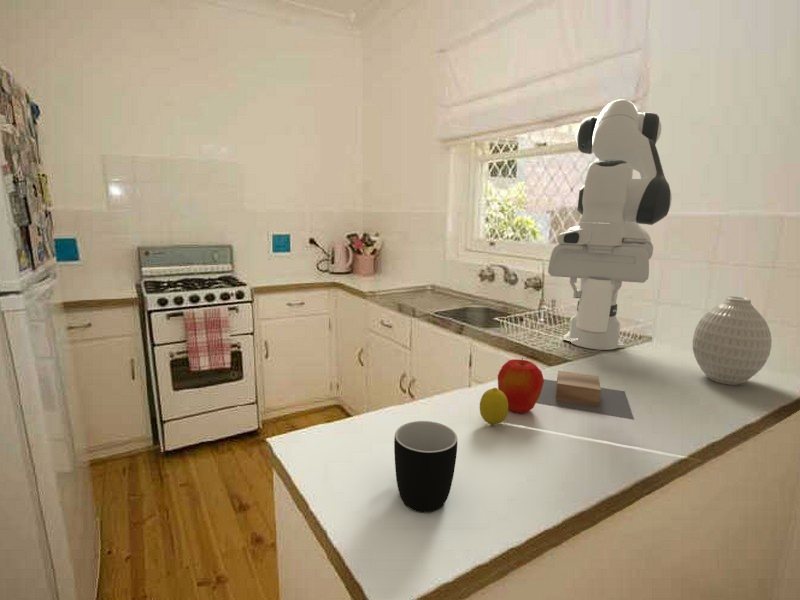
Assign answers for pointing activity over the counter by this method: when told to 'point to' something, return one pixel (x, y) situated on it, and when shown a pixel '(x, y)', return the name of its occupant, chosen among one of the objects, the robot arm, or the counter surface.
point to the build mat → (608, 405)
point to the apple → (520, 384)
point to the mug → (424, 464)
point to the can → (594, 305)
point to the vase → (732, 341)
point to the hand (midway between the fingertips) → (592, 299)
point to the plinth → (578, 388)
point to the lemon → (494, 406)
